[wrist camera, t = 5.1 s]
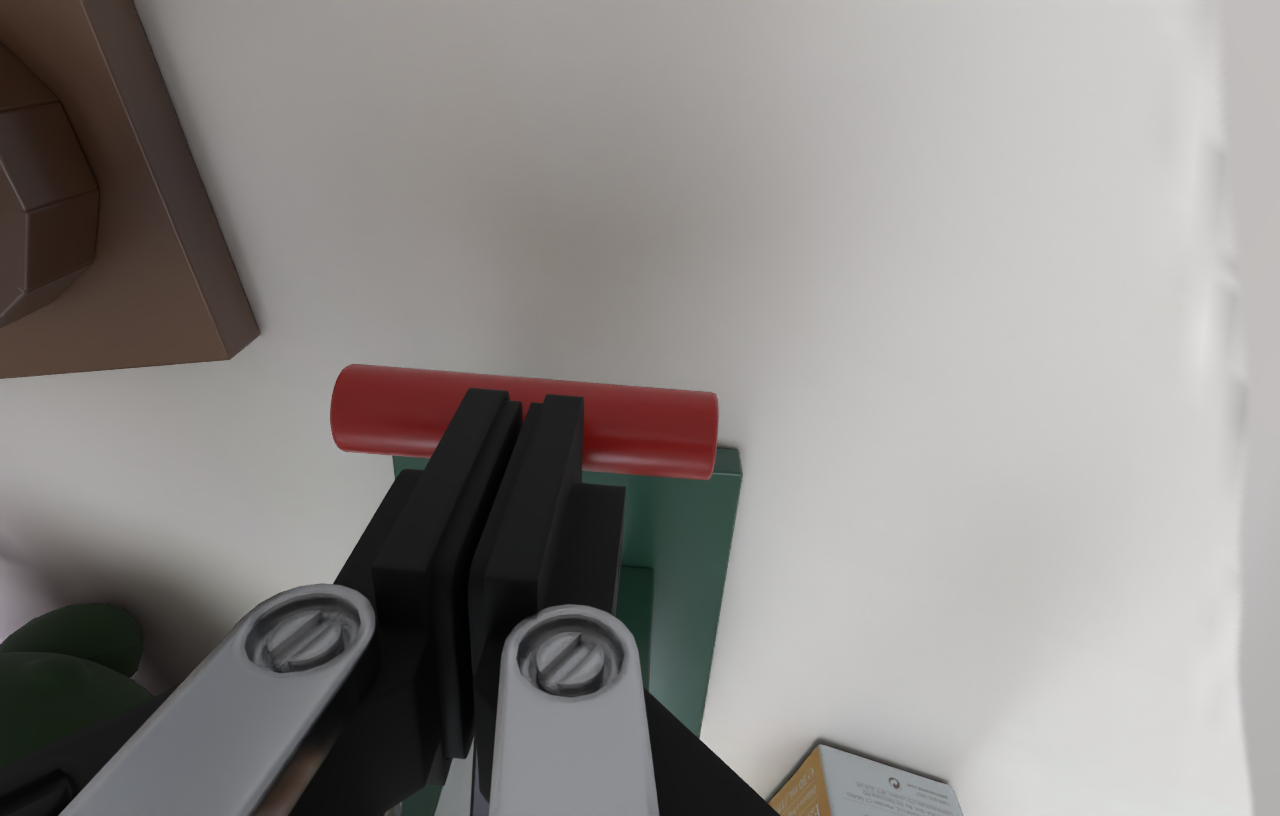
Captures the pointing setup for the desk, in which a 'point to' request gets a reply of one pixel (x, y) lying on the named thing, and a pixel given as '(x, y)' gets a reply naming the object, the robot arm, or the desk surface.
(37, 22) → the button block
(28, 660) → the toy figurine
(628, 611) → the bracket
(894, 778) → the small box
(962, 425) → the desk surface
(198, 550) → the desk surface
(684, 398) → the lever
